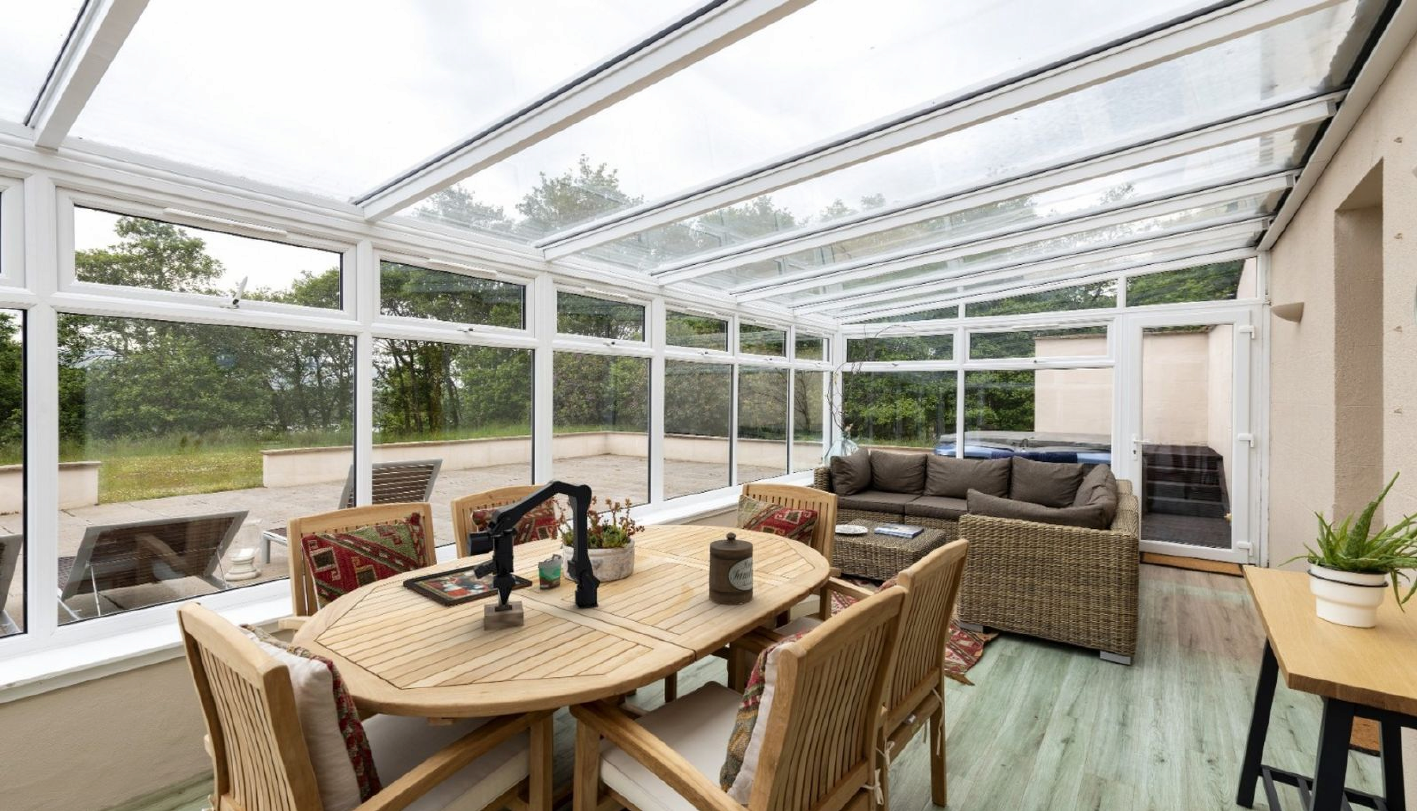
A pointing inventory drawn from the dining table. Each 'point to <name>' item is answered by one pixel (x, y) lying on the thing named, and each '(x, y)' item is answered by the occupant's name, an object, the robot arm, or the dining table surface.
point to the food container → (550, 572)
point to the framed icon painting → (458, 586)
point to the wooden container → (731, 571)
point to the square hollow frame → (503, 616)
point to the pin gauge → (500, 606)
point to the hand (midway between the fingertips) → (503, 602)
